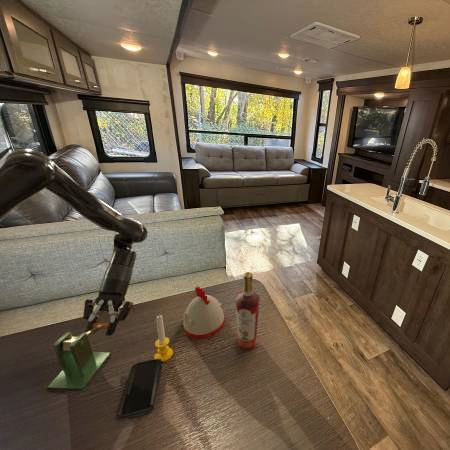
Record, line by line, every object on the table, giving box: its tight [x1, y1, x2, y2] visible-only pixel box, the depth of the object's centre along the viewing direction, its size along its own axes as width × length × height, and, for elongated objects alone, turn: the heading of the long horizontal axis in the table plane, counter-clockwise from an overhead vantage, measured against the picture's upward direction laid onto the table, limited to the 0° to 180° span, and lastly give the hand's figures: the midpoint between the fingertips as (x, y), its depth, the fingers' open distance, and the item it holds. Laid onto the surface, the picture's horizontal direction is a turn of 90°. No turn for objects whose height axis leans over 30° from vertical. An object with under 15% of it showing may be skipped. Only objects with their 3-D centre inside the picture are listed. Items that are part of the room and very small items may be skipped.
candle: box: [153, 314, 174, 363], centre depth 74 cm, size 5×5×16 cm
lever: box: [63, 322, 109, 351], centre depth 71 cm, size 13×5×2 cm, turn 2°
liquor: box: [235, 271, 260, 350], centre depth 79 cm, size 7×7×28 cm
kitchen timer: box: [182, 286, 225, 339], centre depth 87 cm, size 14×14×15 cm
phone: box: [118, 358, 163, 419], centre depth 68 cm, size 8×1×15 cm
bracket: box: [46, 331, 112, 391], centre depth 68 cm, size 11×9×13 cm
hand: (99, 334), depth 76 cm, fingers closed on lever, 5 cm apart
